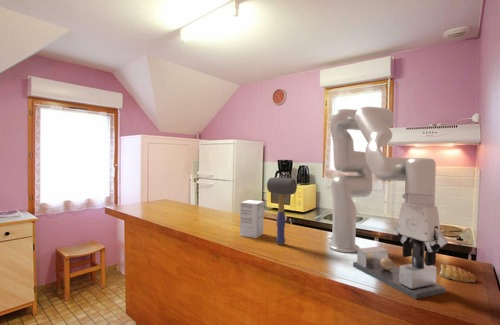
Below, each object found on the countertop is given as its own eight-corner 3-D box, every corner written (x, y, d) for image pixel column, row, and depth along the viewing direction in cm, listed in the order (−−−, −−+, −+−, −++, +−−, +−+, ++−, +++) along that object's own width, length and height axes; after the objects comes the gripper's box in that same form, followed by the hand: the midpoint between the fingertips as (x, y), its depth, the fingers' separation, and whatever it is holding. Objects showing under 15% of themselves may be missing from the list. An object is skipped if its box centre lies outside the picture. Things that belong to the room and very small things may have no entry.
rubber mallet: (264, 243, 120) (265, 177, 120) (272, 239, 126) (273, 176, 126) (289, 249, 113) (291, 178, 113) (296, 244, 119) (298, 177, 119)
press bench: (352, 266, 95) (353, 248, 95) (378, 262, 99) (378, 245, 99) (415, 299, 72) (416, 275, 72) (445, 292, 77) (445, 270, 77)
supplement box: (247, 231, 140) (248, 199, 140) (263, 233, 136) (264, 201, 136) (239, 235, 131) (239, 201, 131) (256, 238, 127) (256, 203, 127)
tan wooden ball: (377, 268, 90) (377, 256, 90) (386, 267, 91) (386, 255, 91) (387, 273, 86) (387, 260, 86) (396, 271, 87) (396, 259, 87)
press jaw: (399, 282, 78) (400, 238, 78) (423, 278, 82) (423, 236, 82) (411, 288, 75) (412, 242, 75) (436, 283, 78) (437, 239, 78)
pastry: (473, 278, 88) (473, 266, 88) (477, 286, 82) (477, 273, 82) (438, 271, 93) (438, 260, 93) (440, 278, 87) (440, 267, 87)
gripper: (385, 196, 85) (384, 252, 85) (440, 204, 69) (439, 273, 69) (402, 196, 88) (401, 250, 88) (459, 203, 72) (458, 270, 72)
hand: (418, 260), depth 78 cm, fingers open, 6 cm apart
